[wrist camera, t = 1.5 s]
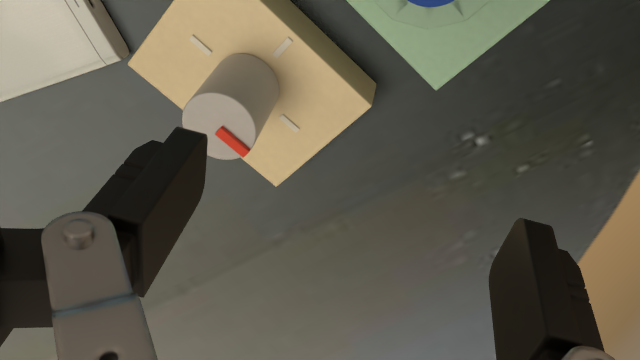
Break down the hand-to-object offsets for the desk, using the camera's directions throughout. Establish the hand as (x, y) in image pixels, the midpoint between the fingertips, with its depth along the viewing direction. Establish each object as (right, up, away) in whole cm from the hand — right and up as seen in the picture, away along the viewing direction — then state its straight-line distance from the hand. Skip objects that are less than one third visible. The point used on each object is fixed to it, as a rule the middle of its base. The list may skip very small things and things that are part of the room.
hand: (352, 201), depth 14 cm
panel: (-5, +8, +20) cm, 22 cm away
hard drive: (-20, +11, +22) cm, 32 cm away
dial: (-5, +6, +18) cm, 20 cm away
